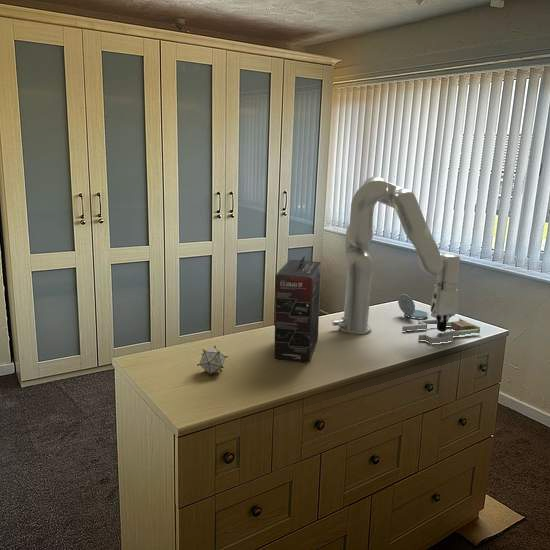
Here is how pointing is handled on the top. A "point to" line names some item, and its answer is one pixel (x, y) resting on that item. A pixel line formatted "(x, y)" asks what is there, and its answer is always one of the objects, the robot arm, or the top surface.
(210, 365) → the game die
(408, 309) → the pocket watch
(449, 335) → the box
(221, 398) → the top surface
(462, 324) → the walnut block
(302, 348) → the headset box
